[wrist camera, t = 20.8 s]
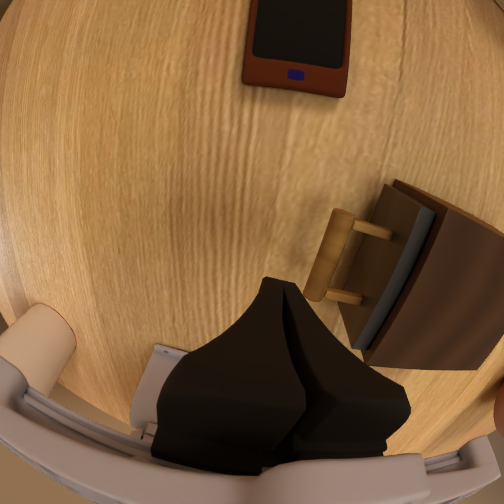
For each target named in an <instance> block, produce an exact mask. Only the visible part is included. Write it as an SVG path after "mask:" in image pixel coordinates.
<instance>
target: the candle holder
mask: <svg viewBox="0 0 504 504" xmlns="http://www.w3.org/2000/svg"><path fill="white" fill-rule="evenodd" d="M75 348H76V339H75V336H74V334H73V332H72V330H71V328H70V327H69V325H68V324H67V323H66V321H65V320H64V319H63V318H62V317H61V316H60V315H59V314H58V313H57V312H56V311H55V310H53V309H52V308H50V307H48V306H46V305H44V304H35V305H34V306H32V307H31V308H30V309H28V310H27V311H26V312H25V313H24V314H23V315H22V316H21V317H19V318H18V319H17V320H16V321H15V322H14V323H13V324H12V325H11V326H10V327H9V328H8V329H6V330H5V331H4V332H3V334H1V335H0V356H2V357H3V358H4V359H6V360H7V361H9V362H10V363H11V364H13V365H14V366H16V367H17V368H18V369H19V370H20V371H21V372H22V373H23V374H24V376H25V377H26V379H27V382H28V384H29V386H31V387H32V388H34V389H35V390H37V391H38V392H40V393H42V394H43V395H45V396H47V397H49V395H50V394H51V392H52V390H53V388H54V386H55V384H56V382H57V381H58V379H59V377H60V375H61V373H62V372H63V370H64V368H65V366H66V365H67V363H68V361H69V359H70V358H71V356H72V354H73V352H74V350H75Z"/></svg>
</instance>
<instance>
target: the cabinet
mask: <svg viewBox="0 0 504 504" xmlns="http://www.w3.org/2000/svg"><path fill="white" fill-rule="evenodd" d="M393 187H395V188H397V189H399V190H401V191H402V192H404V193H406V194H408V195H409V196H411V197H413V198H414V199H416V200H417V201H419V202H421V203H422V204H424V205H425V206H427V207H429V208H430V209H432V210H433V211H435V212H436V215H435V216H437V217H436V220H435V222H434V225H433V227H432V230H431V232H430V234H429V237H428V239H427V241H426V244H425V246H424V248H423V250H422V253H421V255H420V257H419V259H418V261H417V263H416V266H415V268H414V270H413V272H412V274H411V276H410V278H409V280H408V282H407V284H406V286H405V288H404V289H403V291H402V293H401V295H400V297H399V299H398V301H397V302H396V304H395V306H394V308H393V310H392V311H391V313H390V315H389V317H388V318H387V320H386V322H385V323H384V325H383V327H382V328H381V330H380V331H379V330H378V332H377V334H376V335H375V337H374V339H373V340H372V342H371V343H370V345H369V346H368V348H367V349H366V351H365V350H361V353H362V356H363V360H364V363H365V364H367V365H368V366H376V367H388V368H402V369H419V370H478V368H479V367H480V366H481V365H482V363H483V362H484V361H485V359H486V358H487V357H488V356H489V354H490V353H491V352H492V350H493V349H494V347H495V346H496V345H497V343H498V342H499V340H500V339H501V337H502V336H503V334H504V233H502V232H501V231H499V230H498V229H496V228H494V227H493V226H491V225H489V224H488V223H486V222H484V221H482V220H480V219H479V218H477V217H475V216H473V215H471V214H469V213H468V212H466V211H464V210H462V209H460V208H458V207H456V206H454V205H452V204H450V203H448V202H446V201H444V200H442V199H440V198H438V197H436V196H434V195H431V194H429V193H427V192H425V191H423V190H420V189H418V188H416V187H414V186H411V185H409V184H407V183H404V182H402V181H399V180H397V179H395V182H394V185H393Z"/></svg>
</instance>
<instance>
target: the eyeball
mask: <svg viewBox="0 0 504 504" xmlns="http://www.w3.org/2000/svg"><path fill="white" fill-rule="evenodd" d="M493 415H494V423H495V426H496V429H497V430H498V432H499V433H500V435H501V436H503V437H504V382H503V384H502V386H501V388H500V389H499V392H498V394H497V397H496V400H495V404H494V413H493Z"/></svg>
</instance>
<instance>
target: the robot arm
mask: <svg viewBox="0 0 504 504" xmlns="http://www.w3.org/2000/svg"><path fill="white" fill-rule="evenodd" d="M410 414H411V407H410V404H409V401H408V398H407V395H406V392H405V390H404V387H403V386H401V385H399V384H397V383H396V382H394V381H392V380H390V379H388V378H387V377H385V376H383V375H381V374H380V373H378V372H377V371H375V370H374V369H372V368H371V367H369V366H368V365H367V364H365V363H364V362H363V361H361V360H360V359H359V358H358V357H356V356H355V355H354V354H353V353H352V352H350V351H349V350H348V349H347V348H346V347H345V346H344V345H343V344H342V343H341V342H340V341H339V340H338V339H337V338H336V337H335V336H334V335H333V334H332V333H331V332H330V331H329V330H328V329H327V327H326V326H325V325H324V324H323V322H322V321H321V320H320V319H319V317H318V316H317V315H316V313H315V312H314V311H313V309H312V308H311V306H310V305H309V303H308V302H307V301H306V299H305V298H304V296H303V294H302V293H301V291H300V290H299V288H298V287H297V285H296V284H295V283H292V282H288V281H283V280H279V279H275V278H271V277H264V278H263V279H262V283H261V286H260V289H259V293H258V294H257V296H256V298H255V299H254V301H253V302H252V304H251V305H250V306H249V308H248V309H247V310H246V311H245V313H244V314H243V315H242V316H241V317H240V318H239V319H238V320H237V321H236V322H235V323H234V324H233V325H232V326H231V327H229V328H228V329H227V330H226V331H225V332H223V333H222V334H221V335H220V336H218V337H216V338H215V339H213V340H212V341H210V342H209V343H207V344H206V345H204V346H202V347H200V348H198V349H196V350H194V351H192V352H190V353H188V352H184V351H180V350H177V349H173V348H170V347H166V346H163V345H160V344H155V345H154V347H153V353H152V356H151V358H150V360H149V362H148V364H147V367H146V369H145V371H144V373H143V375H142V378H141V380H140V382H139V384H138V387H137V389H136V392H135V394H134V398H133V401H132V405H131V410H130V423H131V426H132V427H134V428H136V429H137V430H134V431H132V432H131V434H130V435H127V434H124V433H121V432H119V431H116V430H114V429H111V428H109V427H107V426H104V425H102V424H99V423H97V422H95V421H93V420H91V419H89V418H86V417H84V416H82V415H80V414H78V413H76V412H74V411H72V410H70V409H69V408H67V407H65V406H63V405H61V404H59V403H57V402H55V401H54V400H52V399H50V398H49V397H47V396H45V395H43V394H42V393H40V392H38V391H37V390H35V389H34V388H32V387H31V386H29V384H28V382H27V379H26V377H25V376H24V374H23V373H22V372H21V371H20V370H19V369H18V368H17V367H16V366H14V365H13V364H11V363H10V362H9V361H7V360H6V359H4V358H3V357H2V356H0V443H1V444H3V445H4V446H5V447H6V448H8V449H9V450H10V451H12V452H13V453H14V454H16V455H17V456H18V457H20V458H21V459H22V460H24V461H25V462H26V463H28V464H29V465H31V466H32V467H34V468H35V469H36V470H38V471H39V472H41V473H43V474H44V475H46V476H47V477H49V478H51V479H52V480H54V481H55V482H57V483H59V484H60V485H62V486H64V487H66V488H67V489H69V490H71V491H73V492H75V493H77V494H78V495H80V496H82V497H84V498H86V499H88V500H90V501H92V502H94V503H97V504H455V503H457V502H459V501H461V500H463V499H465V498H467V497H469V496H470V495H472V494H474V493H476V492H477V491H479V490H481V489H482V488H483V487H485V486H487V485H488V484H490V483H492V482H493V481H495V480H496V479H498V478H499V477H500V476H501V473H500V470H499V467H498V464H497V461H496V458H495V456H494V453H493V450H492V447H491V444H490V442H489V440H488V437H487V435H483V436H480V437H477V438H474V439H472V440H470V441H468V442H467V443H466V444H464V445H463V446H462V447H461V448H459V450H457V451H453V452H450V453H446V454H442V455H438V456H434V457H430V458H425V459H423V458H422V454H419V453H404V454H397V455H389V456H384V455H383V452H384V451H386V450H387V443H386V439H387V438H389V437H390V436H391V435H392V434H393V433H394V432H396V431H397V430H398V429H399V428H400V427H401V426H402V425H403V424H404V423H405V422H406V421H407V419H408V417H409V415H410Z"/></svg>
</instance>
